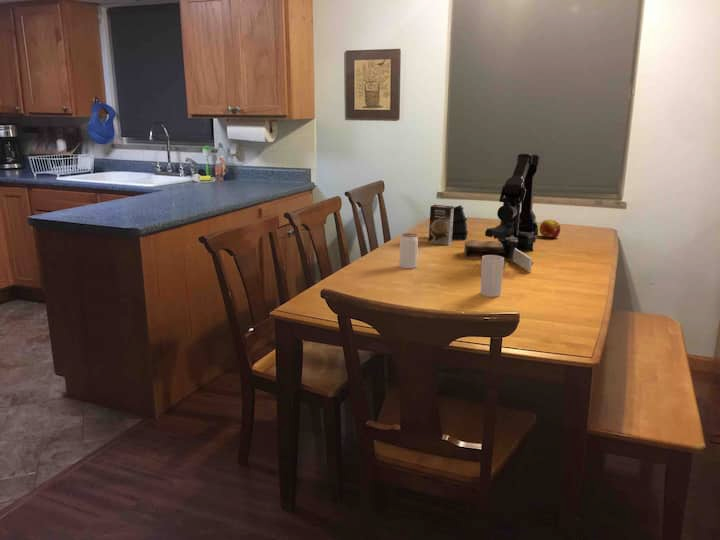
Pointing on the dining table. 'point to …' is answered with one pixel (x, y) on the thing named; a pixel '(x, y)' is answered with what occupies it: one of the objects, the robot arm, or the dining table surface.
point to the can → (408, 251)
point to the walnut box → (484, 249)
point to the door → (522, 260)
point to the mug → (491, 275)
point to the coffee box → (441, 224)
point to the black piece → (459, 224)
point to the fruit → (550, 228)
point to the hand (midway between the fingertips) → (508, 258)
